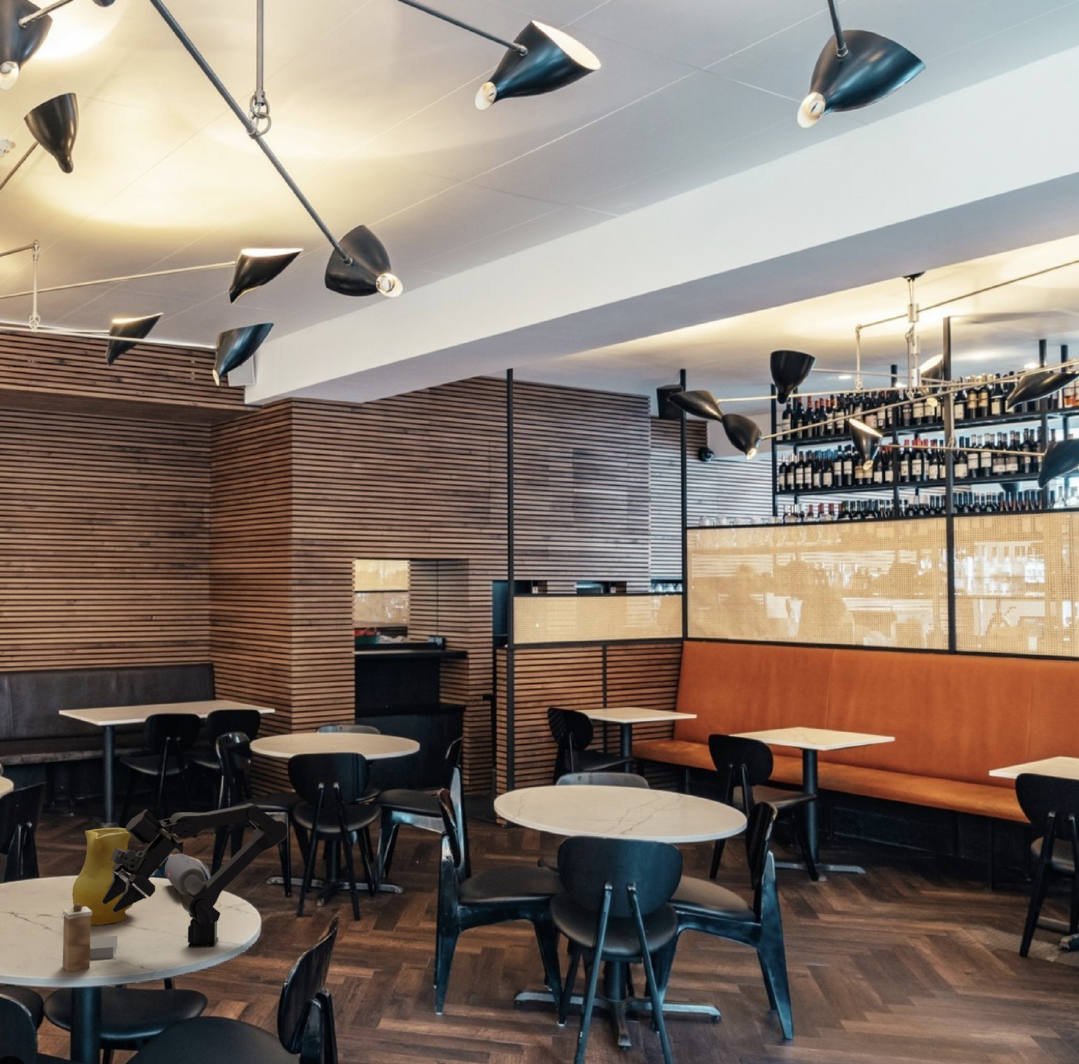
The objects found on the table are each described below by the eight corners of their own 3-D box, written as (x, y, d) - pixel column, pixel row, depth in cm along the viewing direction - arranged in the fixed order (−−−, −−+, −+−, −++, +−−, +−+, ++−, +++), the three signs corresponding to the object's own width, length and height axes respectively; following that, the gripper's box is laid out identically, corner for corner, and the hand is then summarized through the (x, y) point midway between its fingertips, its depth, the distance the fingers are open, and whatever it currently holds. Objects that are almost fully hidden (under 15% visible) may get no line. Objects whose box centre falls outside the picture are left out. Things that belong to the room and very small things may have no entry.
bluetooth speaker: (162, 885, 346) (162, 853, 347) (192, 882, 351) (193, 850, 351) (175, 902, 326) (175, 868, 327) (207, 898, 331) (208, 864, 331)
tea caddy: (84, 962, 272) (86, 899, 273) (90, 967, 267) (92, 903, 268) (61, 966, 268) (63, 902, 269) (67, 972, 264) (68, 907, 265)
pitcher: (55, 921, 305) (64, 830, 308) (109, 908, 322) (116, 822, 324) (98, 931, 297) (106, 838, 300) (151, 918, 314) (158, 829, 316)
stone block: (117, 947, 285) (117, 935, 285) (113, 959, 275) (113, 946, 275) (75, 950, 282) (76, 938, 282) (69, 962, 273) (70, 950, 273)
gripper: (121, 829, 285) (75, 879, 278) (143, 841, 270) (95, 894, 263) (151, 856, 289) (106, 906, 282) (174, 870, 274) (128, 923, 267)
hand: (108, 906), depth 273 cm, fingers open, 9 cm apart
